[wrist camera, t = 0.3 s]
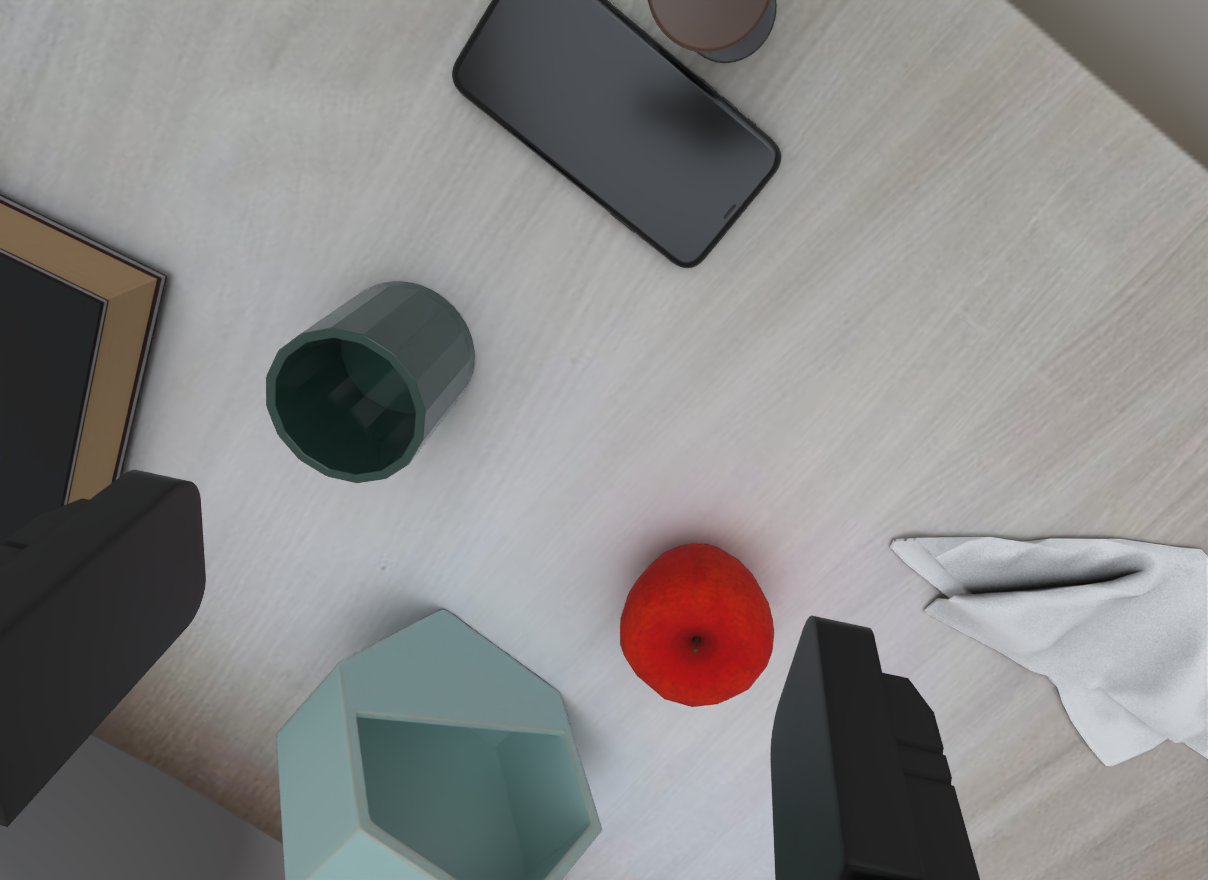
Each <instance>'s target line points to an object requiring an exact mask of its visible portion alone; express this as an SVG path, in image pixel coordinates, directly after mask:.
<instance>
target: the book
mask: <svg viewBox="0 0 1208 880" xmlns="http://www.w3.org/2000/svg"><path fill="white" fill-rule="evenodd" d="M166 278H167V276H166V275H164V274H162V273H160V272H158V271H156V270H154V269H152V268H150V267H148V266H146V265H144V264H142V263H140V262H138V261H136V260H134V259H131V258H129V257H127V256H125V255H123V254H121V253H119V252H117V251H115V250H113V249H111V248H109V247H107V246H105V245H103V244H101V243H99V242H97V241H95V240H92V239H90V238H88V237H86V236H84V235H82V234H80V233H78V232H76V231H74V230H72V229H70V228H68V227H66V226H64V225H62V224H60V223H58V222H56V221H53V220H51V219H49V218H47V217H45V216H43V215H41V214H39V213H37V212H35V211H33V210H31V209H29V208H27V207H25V206H23V205H21V204H19V203H16V202H14V201H12V200H10V199H8V198H6V197H4V196H2V195H0V545H3V544H4V540H5V539H6V538H8V537H9V536H10V535H12V534H13V533H15V532H16V531H17V530H19V529H20V528H22V527H23V526H24V525H26V524H27V523H29V522H30V521H31V520H33V519H34V518H36V517H37V516H39V515H41V514H44V513H46V512H49V511H51V510H54V509H56V508H59V507H61V506H64V505H67V504H69V503H72V502H74V501H77V500H79V499H82V498H84V499H88V500H90V499H91V498H92V497H94V496H95V495H96V494H98V493H99V492H100V491H102V490H103V489H104V488H106V487H107V486H108V485H110V484H111V483H112V482H114V481H115V480H116V479H118V478H119V477H120V476H121V473H122V468H123V464H124V460H125V455H126V451H127V447H128V442H129V438H130V434H131V429H132V425H133V421H134V416H135V412H136V408H137V403H138V399H139V395H140V390H141V386H142V382H143V377H144V373H145V369H146V364H147V360H148V356H149V352H150V347H151V343H152V339H153V334H154V330H155V326H156V321H157V317H158V313H159V308H160V304H161V300H162V295H163V291H164V287H165V282H166Z"/></svg>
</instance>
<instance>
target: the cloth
mask: <svg viewBox="0 0 1208 880" xmlns="http://www.w3.org/2000/svg"><path fill="white" fill-rule="evenodd" d="M890 547H891V548H892V549H893V550H894V551H895V552H896V553H897V555H898V556H899V557H900V558H901V559H902V560H903V561H904V562H905V563H906V564H907V565H909V566H910V567H911V568H912V569H914V570H915V571H916V572H917V573H919V574H920V575H921V576H922V577H924V578H925V579H926V580H927V581H929V582H930V583H931V584H932V585H934V586H935V587H936V588H937V589H939V590H940V591H941V592H942V593H943V594H945V595H946V596H947V597H948V598H950V599H940V598H937V599H936V600H935V601H934V602H932V603H931V604H930V605H929V606H927V607H926V608H925V609H924V610H923V612H925V613H927V614H928V615H930V616H932V617H934V618H936V619H938V620H940V621H942V622H943V623H945V624H947V625H949V626H951V627H953V628H955V629H956V630H958V631H960V632H962V633H964V634H966V635H968V636H970V637H971V638H973V639H975V640H977V641H979V642H981V643H983V644H985V645H987V646H989V647H991V648H993V649H995V650H996V651H998V652H1000V653H1002V654H1003V655H1005V656H1007V657H1008V658H1010V659H1012V660H1013V661H1015V662H1017V663H1018V664H1020V665H1022V666H1024V667H1025V668H1027V669H1029V670H1030V671H1032V672H1035V673H1039V674H1043V675H1046V676H1048V678H1049V679H1050V681H1051V682H1052V683H1053V684H1055V685H1056V686H1057V688H1058V691H1059V694H1060V697H1061V701H1062V703H1063V705H1064V707H1065V709H1066V711H1067V713H1068V715H1069V717H1070V719H1071V721H1072V723H1073V724H1074V726H1075V727H1076V729H1077V730H1078V731H1079V733H1080V734H1081V736H1082V737H1083V739H1084V740H1085V742H1086V743H1087V744H1088V746H1089V747H1090V748H1091V750H1092V751H1093V752H1094V753H1095V754H1096V755H1097V756H1098V758H1099V759H1100V760H1101V761H1102V762H1103V763H1104V764H1105V766H1114V765H1116V764H1118V763H1121V762H1123V761H1125V760H1128V759H1130V758H1132V757H1134V756H1137V755H1139V754H1141V753H1144V752H1146V751H1148V750H1150V749H1153V748H1154V747H1156V746H1157V745H1159V744H1160V743H1162V742H1163V741H1165V740H1166V739H1169V740H1171V741H1172V742H1174V743H1184V744H1186V745H1187V746H1189V747H1190V748H1192V749H1193V750H1195V751H1196V752H1198V753H1199V754H1201V755H1202V756H1204V757H1205V758H1207V759H1208V556H1207V555H1206V554H1205V553H1204V552H1203V551H1202V550H1201V549H1191V548H1180V547H1173V546H1166V545H1160V544H1153V543H1146V542H1139V541H1132V540H1123V539H1042V540H1033V541H1025V542H1020V541H1013V540H1007V539H1000V538H994V537H939V538H908V539H894V540H893V541H892V543H891V545H890Z"/></svg>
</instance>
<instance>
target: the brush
mask: <svg viewBox="0 0 1208 880" xmlns="http://www.w3.org/2000/svg"><path fill="white" fill-rule="evenodd" d="M648 3H649V7H650V10H651V13H652V15H653V18H654V19H655V21H656V23H657V25H658V26H659V28H660V29H661V31H662V32H663V33H664V34H665V35H666V36H667V37H668V38H669V39H670V40H672V41H673V42H674V43H676V44H678V45H679V46H681V47H683V48H686V49H688V50H692V51H695V52H697V53H698V54H699V55H701V56H703V57H704V58H706V59H709V60H711V61H715V62H720V63H730V62H736V61H739V60H742V59H744V58H746V57H748V56H750V55H751V54H753V53H754V52H755V51H757V50H758V49H759V48H760V47H761V46H762V45H763V43H764V42H765V41H766V39H767V38H768V36H769V34H770V32H771V30H772V27H773V25H774V21H775V17H776V7H777V4H776V0H648Z"/></svg>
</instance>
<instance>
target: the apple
mask: <svg viewBox="0 0 1208 880" xmlns="http://www.w3.org/2000/svg"><path fill="white" fill-rule="evenodd" d="M773 639H774V627H773V619H772V615H771V611H770V607H769V603H768V601H767V599H766V598H765V596H764V594H763V592H762V590H761V588H760V586H759V585H758V583H757V581H756V579H755V578H754V576H753V575H752V573H751V572H750V571H749V570H748V569H747V568H746V567H745V566H744V565H743V564H742V563H741V562H740V561H739V560H738V559H736V558H735V557H733V556H731V555H730V554H728V553H726V552H725V551H723V550H721V549H720V548H718V547H714V546H711V545H708V544H689V545H684V546H679V547H676V548H674V549H672V550H670V551H667V552H665V553H663V554H662V555H661V556H660V557H659V558H658V559H656V560H655V561H654V562H653V563H652V564H651V565H650V566H649V567H648V568H647V569H646V570H645V571H644V572H643V574H642V575H641V576H640V577H639V578H638V580H637V581H636V583H635V584H634V586H633V587H632V589H631V590H630V592H629V594H628V597H627V599H626V603H625V606H624V609H623V612H622V615H621V622H620V645H621V648H622V651H623V654H624V656H625V658H626V659H627V661H628V663H629V664H630V666H631V667H632V669H633V670H634V672H635V673H636V675H637V676H638V677H639V678H641V679H642V680H643V681H644V682H645V683H646V684H648V685H649V686H650V687H651V688H652V689H653V690H655V691H656V692H657V693H658V694H659V695H660V696H662V697H663V698H664V699H666V700H670V701H673V702H677V703H680V704H684V705H687V706H691V707H695V706H704V705H714V704H718V703H721V702H723V701H726V700H728V699H730V698H732V697H734V696H736V695H738V694H740V693H742V692H744V691H746V690H748V689H749V688H750V687H751V686H752V684H753V683H754V682H755V681H756V679H757V678H758V677H759V676H760V674H761V673H762V672H763V670H764V669H765V668H766V667H767V665H768V662H769V659H770V656H771V653H772V649H773Z"/></svg>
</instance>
